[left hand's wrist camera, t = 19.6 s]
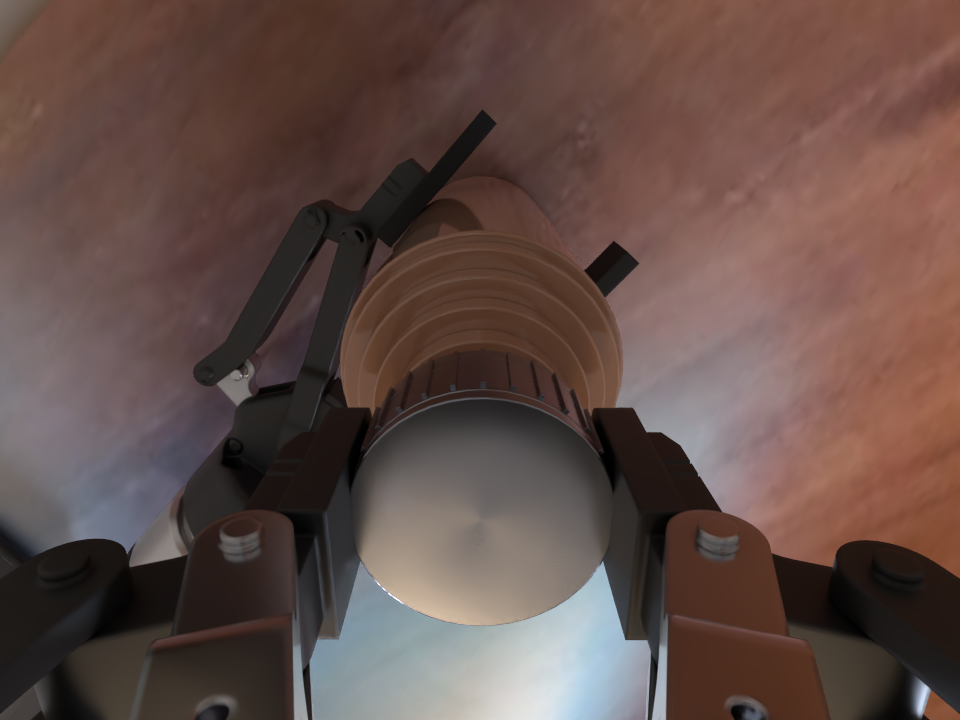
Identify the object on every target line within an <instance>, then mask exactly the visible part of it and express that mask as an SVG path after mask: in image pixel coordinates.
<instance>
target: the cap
mask: <svg viewBox="0 0 960 720" xmlns="http://www.w3.org/2000/svg"><path fill="white" fill-rule="evenodd" d="M360 451H361V452H362V453H361V456H360V458H359V461H358V464H357V467H356V470H355V474H354V477H353V480H352V482H351V485H350V498H351V510H352V521H353V533H354V545H355V550H356V552H357V555H358V557H359V559H360V561H361V562H362V564H363V565H364V567H365V569H366V570H367V572H368V573H369V574H370V575H371V577H372V578H373V579H374V580H375V581H376V582H377V584H378V585H380V586H381V587H382V588H383V589H384V590H385V591H386V592H387V593H388V594H389V595H391V596H392V597H394V598H395V599H396V600H398V601H399V602H401V603H402V604H404V605H406V606H408V607H409V608H411V609H413V610H415V611H417V612H419V613H422V614H424V615H427V616H429V617H432V618H435V619H439V620H442V621H446V622H451V623H457V624H463V625H476V626H483V625H499V624H507V623H513V622H517V621H521V620H525V619H528V618H531V617H534V616H537V615H539V614H542V613H544V612H546V611H548V610H550V609H552V608H554V607H556V606H558V605H559V604H561V603H562V602H564V601H566V600H567V599H569V598H570V597H571V596H572V595H574V594H575V593H576V592H577V591H578V590H580V589H581V588H582V587H583V586H584V585H585V584H586V583H587V582H588V580H589V579H590V578H591V577H592V576H593V574H594V573H595V572H596V570H597V569H598V568H599V566H600V565H601V563H602V561H603V559H604V557H605V555H606V554H607V551H608V549H609V539H610V528H611V516H612V505H613V492H614V490H613V485H612V481H611V477H610V475H609V472H608V470H607V467H606V464H605V461H604V459H603V456H602V454H604V453H605V452H604V449H603V447H602V444H601V442H600V439H599V436H598V434H597V431H596V428H595V426H594V423H593V421H592V418H591V415H590V413H589V411H588V409H587V408H586V409H584V407H583V406H582V404H581V402H580V401H579V398H578V395H577V392H576V391H575V389H572V390H571V389H570V388H569V386H568V385H567V384H566V383H564V382H563V381H562V380H561V379H560V378H559V375H558V374H557V373H556V372H554V373H552V372H551V371H549V370H548V369H547V368H545V367H543V366H541V365H539V364H537V361H536V360H534V359H532V360H529V359H526V358H523V357H521V356H518V355H514V354H512V352H509V351H507V353H505V352H500V351H489V350H485V349H480V350H474V351H464V352H458V351H454V353H453V354H449V355H446V356H442V357H439V358H437V359H434V360H433V358H432V359H430V360H429V361H428V362H427V363H425V364H423V365H422V366H420V367H418V368H417V369H415V370H413V371H412V372H411V371H408V372H407V373H406V376H405V377H404V378H403V379H402V380H400V382H399V383H398V384H397V385H396V386H395V387H394V388H392V387H390V388H389V390H388V392H387V395H386V398H385V399H384V401H383V402H382V404H381V406H380V407H376V409H375V411H374V414H373V416H372V419H371V422H370V424H369V427H368V430H367V432H366V435H365V438H364V440H363V443H362V446H361V448H360Z"/></svg>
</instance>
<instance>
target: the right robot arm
mask: <svg viewBox="0 0 960 720" xmlns="http://www.w3.org/2000/svg"><path fill="white" fill-rule="evenodd" d="M496 124H497V123H496V122H495V121H494V120H493V119H492V118H490V117H489V116H488V115H487V114H486V113H485V112H484V111H483V110H482V111H481V112H480V113H479V114H478V116H477V117H476V118H475V119H474V120H473V121H472V123H471V124H470V125H469V126H468V127H467V129H466V130H465V131H464V132H463V133H462V134H461V136H460V137H459V138H458V139H457V140H456V142H455V143H454V144H453V145H452V146H451V147H450V149H449V150H448V151H447V152H446V153H445V155H444V156H443V157H442V158H441V159H440V160H439V162H438V163H437V164H436V165H435V166H434V168H433V169H432V170H431V171H430V172H429V173H428V172H427V171H426V170H425V169H424V168H423V167H421V166H420V165H419V164H418V163H417V162H416V161H415V160H414V159H413V158H412V159H409V160H407V161H405V162H403V163H401V164H399V165H397V166H396V168H395V169H394V170H393V171H392V173H391V174H390V175H389V176H388V177H387V179H386V180H385V181H384V182H383V184H382V185H381V186H380V187H379V188H378V190H377V191H376V192H375V193H374V194H373V196H372V197H371V198H370V199H369V200H368V202H367V203H366V204H365V205H364V206H363V208H362V209H361V210H359V211H350V210H347V209H344V208H342V207H339V206H337V205H335V204H334V203H333V202H332V201H329V200H320V201H317V202H315V203H312V204H310V205H307V206H306V207H303V208H302V209H301V210H300V211H299V213H298V215H297V216H296V218H295V220H294V222H293V223H292V225H291V227H290V229H289V230H288V232H287V234H286V236H285V238H284V239H283V241H282V243H281V245H280V246H279V248H278V250H277V252H276V253H275V255H274V257H273V259H272V260H271V262H270V264H269V266H268V267H267V269H266V271H265V273H264V274H263V276H262V278H261V280H260V281H259V283H258V285H257V287H256V289H255V290H254V292H253V294H252V296H251V297H250V299H249V301H248V303H247V304H246V306H245V308H244V310H243V311H242V313H241V315H240V317H239V318H238V320H237V322H236V324H235V325H234V327H233V329H232V331H231V332H230V334H229V336H228V338H227V340H226V341H225V342H224V343H223V344H221V345H220V346H219V347H217V348H216V349H215V350H214V351H212V352H211V353H210V354H209V355H208V356H206V357H205V358H204V359H203V360H201V361H200V362H199V363H198V364H197V365H196V366H195V367H194V371H193V374H194V377H195V379H196V380H197V382H199V383H200V384H201V385H204V386H213V385H215V384H217V385H218V386H219V387H220V389H221V390H222V391H223V392H224V393H225V394H226V395H227V396H228V397H229V398H230V399H231V400H232V401H233V402H234V404H235V405H236V406H237V409H236V411H235V417H234V424H233V427H232V430H231V431H230V432H229V433H228V435H227V436H226V437H225V438H224V439H223V440H222V441H221V443H220V444H219V445H218V446H217V447H216V448H215V450H214V451H213V452H212V453H211V454H210V455H209V457H208V458H207V459H206V460H205V461H204V462H203V464H202V465H201V466H200V467H199V468H198V469H197V471H196V472H195V473H194V474H193V475H192V477H191V478H190V479H189V481H188V483H187V485H186V486H184V487H183V488H182V489H181V490H180V491H179V492H178V494H177V495H176V496H175V497H174V498H173V499H172V500H171V502H170V503H169V504H168V505H167V506H166V507H165V508H164V510H163V511H162V512H161V513H160V514H159V515H158V516H157V518H156V519H155V520H154V521H153V522H152V523H151V524H150V526H149V527H148V528H147V529H146V530H145V531H144V532H143V534H142V535H141V536H140V537H139V539H138V540H137V542H136V543H135V544H134V545H133V547H132V548H131V549H130V551H129V552H128V554H127V557H128V562H129V566H130V567H133V566H138V565H143V564H148V563H153V562H158V561H162V560H167V559H172V558H176V557H181V556H184V555H187V554H188V553H189V549H190V545H191V542H192V540H193V539H194V537H195V536H196V535H197V534H198V533H199V532H200V531H201V530H202V529H203V528H204V527H206V526H207V525H209V524H210V523H212V522H214V521H216V520H218V519H220V518H222V517H225V516H227V515H230V514H233V513H237V512H242V511H243V509H244V508H245V506H246V504H247V503H248V501H249V500H250V498H251V496H252V495H253V493H254V491H255V490H256V488H257V487H258V485H259V483H260V482H261V480H262V479H263V477H264V476H266V472H267V471H268V469H269V467H270V466H271V464H272V463H274V459H275V458H276V456H277V454H278V453H279V451H280V450H281V448H282V446H283V445H284V444H286V443H287V442H288V441H290V440H291V439H293V438H294V437H296V436H297V435H299V434H300V433H302V432H317V431H318V430H319V428H320V426H321V424H322V422H323V420H324V418H325V416H326V415H327V413H328V411H329V409H330V408H331V407H348V406H347V402H346V398H345V395H344V392H343V386H342V381H341V379H340V378H339V377H337V379H336V380H334V378H335V375H336V372H337V369H338V366H339V362H340V353H341V343H342V338H343V334H344V330H345V325H346V322H347V320H348V317H349V315H350V313H351V310H352V308H353V306H354V304H355V302H356V301H357V299H358V297H359V295H360V292H361V289H362V286H363V283H364V280H365V277H366V273H367V270H368V267H369V264H370V261H371V258H372V254H373V251H374V248H375V245H376V242H377V238H380V239H381V240H382V241H383V242H384V243H385V244H386V245H388V246H389V247H391V246H392V245H393V244H394V243H395V242H396V240H397V239H398V238H399V237H400V236H401V235H402V233H403V232H404V231H405V230H406V229H407V228H408V226H409V225H410V224H411V223H412V222H413V221H414V219H415V218H416V217H417V216H418V215H419V214H420V212H421V211H422V210H423V209H424V208H425V207H426V205H427V204H428V203H429V202H430V201H431V200H432V198H433V197H434V196H435V195H436V194H437V193H438V192H439V190H440V189H441V188H442V187H443V186H444V185H445V183H446V182H447V181H448V180H449V179H450V178H451V176H452V175H453V174H454V173H455V172H456V171H457V169H458V168H459V167H460V166H461V165H462V164H463V162H464V161H465V160H466V159H467V158H468V157H469V155H470V154H471V153H472V152H473V151H474V150H475V148H476V147H477V146H478V145H479V144H480V143H481V141H482V140H483V139H484V138H485V137H486V136H487V134H488V133H489V132H490V131H491V130H492V129H493V127H494V126H495V125H496ZM326 239H330V240H332V241H335V242H337V243H339V245H338V248H337V252H336V255H335V259H334V262H333V265H332V269H331V272H330V275H329V279H328V282H327V286H326V289H325V292H324V296H323V299H322V303H321V306H320V309H319V313H318V316H317V320H316V323H315V326H314V330H313V333H312V337H311V340H310V343H309V347H308V350H307V354H306V357H305V360H304V363H303V366H302V368H301V370H300V372H299V375H298V378H297V381H292V382H287V383H282V384H277V385H272V386H267V387H262V388H259V387H258V386H257V384H256V382H255V376H256V374H257V372H258V371H259V369H260V367H261V361H260V358H259V355H258V354H257V353H256V352H255V351H256V350H257V349H258V348H259V347H260V346H261V345H262V344H263V343H264V342H265V341H266V340H267V338H268V337H269V335H270V334H271V332H272V331H273V329H274V327H275V325H276V324H277V322H278V320H279V319H280V317H281V315H282V314H283V312H284V310H285V309H286V307H287V305H288V304H289V302H290V300H291V298H292V297H293V295H294V293H295V292H296V290H297V288H298V287H299V285H300V283H301V282H302V280H303V278H304V276H305V275H306V273H307V271H308V270H309V268H310V266H311V265H312V263H313V261H314V260H315V258H316V256H317V255H318V253H319V251H320V249H321V248H322V246H323V244H324V243H325V241H326ZM638 264H639V263H638V262H637V261H636V260H635V259H634V258H633V257H632V256H631V255H630V254H629V253H628V252H627V251H626V250H625V249H623V248H622V247H621V246H620V245H618V244H617V243H616V242H615V241H613V242H612V243H611V244H610V245H609V246H608V247H607V248H606V249H605V250H604V251H603V252H602V253H601V255H600V256H599V257H598V258H597V259H596V260H595V261H594V262H593V263H592V264H591V265H590V266H589V267H588V268H587V269H586V271H587V273H588V274H589V275H590V277H591V278H592V280H593V281H594V282H595V284H596V285H597V286H598V288H599V289H600V291H601V292H602V294H603V296H604V297H606V296H607V295H608V294H609V293H610V292H611V291H612V290H613V289H614V288H615V287H616V286H617V285H618V284H619V283H620V282H621V281H622V280H623V279H624V278H625V277H626V276H627V275H628V274H629V273H630V272H631V271H632V270H633V269H634V268H635V267H636V266H637V265H638ZM41 710H42V709H41V706H40V703H39V700H38V697H37V694H36V691H35V688H34V686H32V687H31V688H30V689H29V690H28V691H27V692H25V693H24V694H23V695H22V696H21V697H20V698H18V699H17V700H16V701H15V702H14V703H13V704H11V705H10V706H9V707H8V708H7V709H6V710H4V711H3V712H2V713H1V714H0V720H31V719H32V718H33V717H34V716H35V715H36V714H38V713H39V712H40V711H41Z"/></svg>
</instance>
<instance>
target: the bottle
mask: <svg viewBox="0 0 960 720" xmlns="http://www.w3.org/2000/svg"><path fill="white" fill-rule="evenodd" d="M480 349H485V350H489V351H500V352H505V353H507V351H509V352H512V354H514V355H518V356H521V357H523V358H526V359H529V360H532V359H534V360H536V361H537V364H539V365H541V366H543V367H545V368H547V369H548V370H549V371H551V372H552V373H554V372H556V373H557V374H558V375H559V378H560V379H561V380H562V381H563V382H564V383H566V384H567V385H568V386H569V388H570V389H571V390H572V389H575V391H576V392H577V395H578V398H579V401H580V402H581V404H582V406H583V407H584V409H586V408H587V409H588V411H589V413H590V415H592V411H593V409H594V408H615V405H616V402H617V398H618V394H619V391H620V387H621V380H622V372H623V351H622V344H621V338H620V333H619V330H618V326H617V323H616V320H615V317H614V315H613V313H612V310H611V308H610V306H609V304H608V302H607V300H606V299H605V297H604V296H603V294H602V292H601V291H600V289H599V288H598V286H597V285H596V284H595V282H594V281H593V280H592V278H591V277H590V275H589V274H588V273H587V271H586V270H585V269H584V267H583V266H582V265H581V263H580V262H579V261H578V259H577V258H576V257H575V255H574V254H573V252H572V251H571V250H570V248H569V247H568V246H567V244H566V243H565V242H564V240H563V239H562V238H561V236H560V235H559V234H558V232H557V231H556V229H555V228H554V227H553V225H552V224H551V223H550V221H549V220H548V219H547V217H546V216H545V215H544V213H543V212H542V211H541V209H540V208H539V207H538V205H537V204H536V203H535V201H534V200H533V199H532V198H531V197H530V196H529V195H528V194H527V193H526V192H525V191H523V190H522V189H521V188H519V187H517V186H516V185H514V184H512V183H510V182H508V181H505V180H502V179H499V178H495V177H489V176H475V177H468V178H463V179H460V180H457V181H455V182H452V183H450V184H448V185H447V186H445V187H443V188H442V189H441V190H439V192H438V193H437V194H436V195H435V196H434V197H433V198H432V200H431V201H430V202H429V203H428V204H427V205H426V207H425V208H424V209H423V210H422V211H421V212H420V214H419V215H418V216H417V217H416V218H415V219H414V221H413V222H412V224H411V225H410V226H409V228H408V229H407V230H406V232H405V233H404V235H403V236H402V237H401V239H400V240H399V241H398V243H397V244H396V245H395V247H394V248H393V250H392V251H391V252H390V254H389V255H388V256H387V258H386V259H385V260H384V262H383V263H382V265H381V266H380V267H379V269H378V270H377V271H376V273H375V274H374V275H373V277H372V278H371V280H370V281H369V282H368V284H367V285H366V286H365V288H364V289H363V290H362V292H361V294H360V295H359V297H358V299H357V301H356V302H355V304H354V306H353V308H352V310H351V313H350V315H349V317H348V320H347V322H346V325H345V330H344V334H343V338H342V343H341V353H340V373H341V381H342V386H343V392H344V395H345V398H346V402H347V406H348V407H369V408H370V410H371V414H372V416H373V414H374V411H375V409H376V407H380V406H381V404H382V402H383V401H384V399H385V398H386V395H387V392H388V390H389V388H390V387H392V388H394V387H395V386H396V385H397V384H398V383H399V382H400V380H402V379H403V378H404V377H405V376H406V373H407V372H408V371H411V372H412V371H413V370H415V369H417V368H418V367H420V366H422V365H423V364H425V363H427V362H428V361H429V360H430V359H432V358H433V360H434V359H437V358H439V357H442V356H446V355H449V354H453V353H454V351H458V352H464V351H474V350H480Z"/></svg>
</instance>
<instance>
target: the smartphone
mask: <svg viewBox="0 0 960 720" xmlns="http://www.w3.org/2000/svg"><path fill="white" fill-rule="evenodd" d="M28 560H30V559H29V558H28V557H26V556H25V555H24V554H23V553H21V552H20V551H19V550H18V549H17V548H15V547H14V546H13V545H12V544H11V543H9V542H8V541H7V540H6V539H4V538H3V537H2V536H1V535H0V578H2V577H3V576H5V575H6V574H8V573H10V572H11V571H13V570H14V569H16V568H17V567H19V566H20V565H22V564H23V563H25V562H26V561H28Z"/></svg>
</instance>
